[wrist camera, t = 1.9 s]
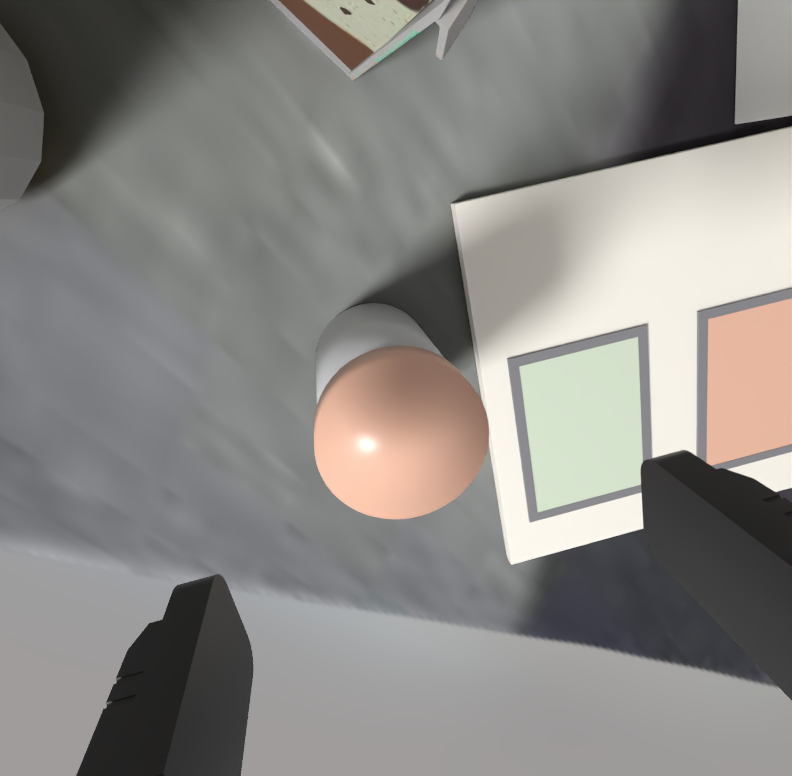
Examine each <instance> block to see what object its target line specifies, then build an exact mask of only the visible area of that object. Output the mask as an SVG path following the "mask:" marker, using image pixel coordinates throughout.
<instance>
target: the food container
mask: <svg viewBox="0 0 792 776" xmlns="http://www.w3.org/2000/svg"><path fill="white" fill-rule="evenodd" d="M270 1H271V2H272V3H273V4H274V5H275V6H276V7H277V8H278V9H280V10H281V11H282V12H283V13H284V14H285V15H286V16H287V17H288V18H289V19H290V20H291V21H292V22H293V23H294V24H295V25H296V26H297V27H298V28H299V29H300V30H301V31H302V32H303V33H304V34H305V35H306V36H308V37H309V38H310V39H311V40H312V41H313V42H314V43H315V44H316V45H317V46H318V47H319V48H320V49H321V50H322V51H323V52H324V53H325V54H326V55H327V56H328V57H329V58H330V59H331V60H332V61H333V62H334V63H335V64H337V65H338V66H339V67H340V68H341V69H342V70H343V71H344V72H345V73H346V74H347V75H348V76H349V77H350V78H351V79H352V80H353V81H354V80H355V79H356V78H358V77H359V76H360V75H362V74H363V73H365V72H366V71H367V70H369V69H370V68H371V67H373V66H374V65H376V64H377V63H378V62H380V61H381V60H382V59H384V58H385V57H387V56H388V55H389V54H391V53H392V52H393V51H395V50H396V49H398V48H399V47H400V46H402V45H403V44H404V43H406V42H407V41H409V40H410V39H411V38H413V37H414V36H415V35H417V34H418V33H419V32H421V31H422V30H424V29H425V28H426V27H428V26H429V25H430V24H432V23H433V22H436V23H437V24H438V25H439V26H440V30H439V37H438V43H437V50H436V56H437V57H438V58H439V59H440V60H443V58H444V57H445V55H446V54H447V52H448V51H449V49H450V47H451V46H452V44H453V43H454V41H455V39H456V38H457V36H458V35H459V33H460V32H461V30H462V28H463V27H464V25H465V24H466V22H467V21H468V19H469V17H470V15H471V13H472V11H473V9H474V7H475V4H476V2H477V0H270Z"/></svg>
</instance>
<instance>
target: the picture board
mask: <svg viewBox="0 0 792 776" xmlns="http://www.w3.org/2000/svg"><path fill="white" fill-rule="evenodd" d="M451 209H452V215H453V222H454V228H455V234H456V240H457V247H458V253H459V259H460V266H461V272H462V278H463V284H464V291H465V297H466V303H467V309H468V316H469V322H470V328H471V335H472V341H473V347H474V353H475V360H476V366H477V372H478V378H479V385H480V391H481V397H482V402H483V405H484V408H485V410H486V413H487V418H488V423H489V448H490V454H491V460H492V466H493V473H494V479H495V485H496V491H497V498H498V504H499V510H500V517H501V523H502V529H503V535H504V542H505V548H506V554H507V558H508V559H509V561H510V563H511V565H512V564H516V563H519V562H523V561H526V560H530V559H534V558H537V557H541V556H545V555H548V554H552V553H556V552H559V551H563V550H566V549H570V548H574V547H577V546H581V545H585V544H588V543H592V542H595V541H599V540H603V539H606V538H610V537H614V536H617V535H621V534H625V533H628V532H632V531H635V530H639V529H643V511H642V492H641V465H642V463H643V461H645V460H647V459H651V458H655V457H658V456H662V455H666V454H669V453H673V452H677V451H681V450H687V451H689V452H691V453H693V454H694V455H696V456H697V457H699V458H700V459H702V460H703V461H705V462H706V463H708V464H709V465H711V466H712V467H714V468H715V469H719V468H724V469H727V470H730V471H733V472H736V473H739V474H742V475H745V476H748V477H751V478H754V479H755V480H757V481H759V482H760V483H762V484H763V485H765V486H766V487H768V488H770V489H771V490H773V491H774V492H777V491H781V490H784V489H788V488H792V126H789V127H785V128H781V129H776V130H772V131H768V132H763V133H759V134H754V135H750V136H746V137H741V138H737V139H733V140H728V141H724V142H719V143H715V144H711V145H706V146H702V147H697V148H693V149H689V150H684V151H680V152H676V153H671V154H667V155H662V156H658V157H654V158H649V159H645V160H641V161H636V162H632V163H627V164H623V165H619V166H614V167H610V168H605V169H601V170H597V171H592V172H588V173H584V174H579V175H575V176H570V177H566V178H562V179H557V180H553V181H549V182H544V183H540V184H535V185H531V186H527V187H522V188H518V189H513V190H509V191H505V192H500V193H496V194H492V195H487V196H483V197H478V198H474V199H470V200H465V201H461V202H457V203H452V204H451Z"/></svg>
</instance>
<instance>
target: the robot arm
mask: <svg viewBox="0 0 792 776" xmlns="http://www.w3.org/2000/svg"><path fill="white" fill-rule="evenodd" d="M641 492H642V511H643V528H644V534H645V537H646V540H647V543H648V545H649V547H650V549H651V551H652V553H653V555H654V556H655V558H656V559H657V560H658V561H659V562H660V564H661V565H662V566H663V567H664V568H665V569H666V570H667V571H668V572H669V573H670V574H671V575H672V576H673V577H674V578H675V579H676V580H677V581H678V582H679V583H680V584H681V585H682V586H683V587H684V589H685V590H686V591H687V592H688V593H689V594H690V595H691V596H692V597H693V598H694V599H695V600H696V601H697V602H698V603H699V604H700V605H701V606H702V607H703V608H704V609H705V610H706V611H707V613H708V614H709V615H710V616H711V617H712V618H713V619H714V620H715V621H716V622H717V623H718V624H719V625H720V626H721V627H722V628H723V629H724V630H725V631H726V632H727V633H728V634H729V635H730V636H731V638H732V639H733V640H734V641H735V642H736V643H737V644H738V645H739V646H740V647H741V648H742V649H743V650H744V651H745V652H746V653H747V654H748V655H749V656H750V657H751V658H752V659H753V660H754V662H755V663H756V664H757V665H758V666H759V667H760V668H761V669H762V670H763V671H764V672H765V673H766V674H767V675H768V676H769V677H770V678H771V679H772V680H773V681H774V682H775V683H776V684H777V685H778V687H779V688H780V689H781V690H782V691H783V692H784V693H785V694H786V695H787V696H788V697H789V698H790V699H791V700H792V502H790V501H789V500H787V499H785V498H783V499H781V498H780V495H779V494H778V493H776V492H774V491H773V490H771V489H770V488H768V487H766V486H765V485H763V484H762V483H760V482H759V481H757V480H755V479H754V478H751V477H748V476H745V475H742V474H739V473H736V472H733V471H730V470H727V469H724V468H719V469H715V468H714V467H712V466H711V465H709V464H708V463H706V462H705V461H703V460H702V459H700V458H699V457H697V456H696V455H694V454H693V453H691V452H689V451H687V450H681V451H677V452H673V453H669V454H666V455H662V456H658V457H655V458H651V459H647V460H645V461H643V463H642V465H641ZM252 679H253V657H252V650H251V645H250V641H249V638H248V635H247V633H246V630H245V628H244V625H243V623H242V620H241V618H240V615H239V613H238V611H237V608H236V606H235V603H234V601H233V598H232V596H231V593H230V591H229V588H228V586H227V584H226V581H225V580H224V578H223V577H222V576H221V575H219V574H217V575H214V576H210V577H206V578H202V579H199V580H195V581H191V582H188V583H184V584H180V585H177V586H176V587H175V588H174V590H173V592H172V595H171V597H170V600H169V603H168V606H167V609H166V612H165V614H164V617H163V620H160V621H156V622H153V623H149V624H148V626H147V627H146V628H145V629H144V631H143V632H142V633H141V634H140V636H139V637H138V638H137V639H136V641H135V642H134V643H133V644H132V646H131V647H130V648H129V649H128V651H127V653H126V656H125V658H124V660H123V663H122V665H121V668H120V670H119V673H118V675H117V678H116V680H117V683H116V684H114V685H113V687H112V690H111V692H110V695H109V697H108V700H107V702H106V704H107V708H106V709H103V712H102V714H101V717H100V719H99V722H98V724H97V727H96V729H95V731H94V734H93V736H92V739H91V741H90V744H89V746H88V748H87V751H86V753H85V756H84V758H83V761H82V763H81V766H80V768H79V771H78V773H77V776H241V768H242V760H243V752H244V743H245V735H246V727H247V719H248V711H249V703H250V694H251V687H252Z"/></svg>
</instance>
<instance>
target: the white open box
mask: <svg viewBox="0 0 792 776" xmlns="http://www.w3.org/2000/svg"><path fill="white" fill-rule="evenodd" d="M786 116H792V0H738V23H737V60H736V96H735V124H741V123H747V122H754V121H760V120H767V119H773V118H779V117H786Z"/></svg>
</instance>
